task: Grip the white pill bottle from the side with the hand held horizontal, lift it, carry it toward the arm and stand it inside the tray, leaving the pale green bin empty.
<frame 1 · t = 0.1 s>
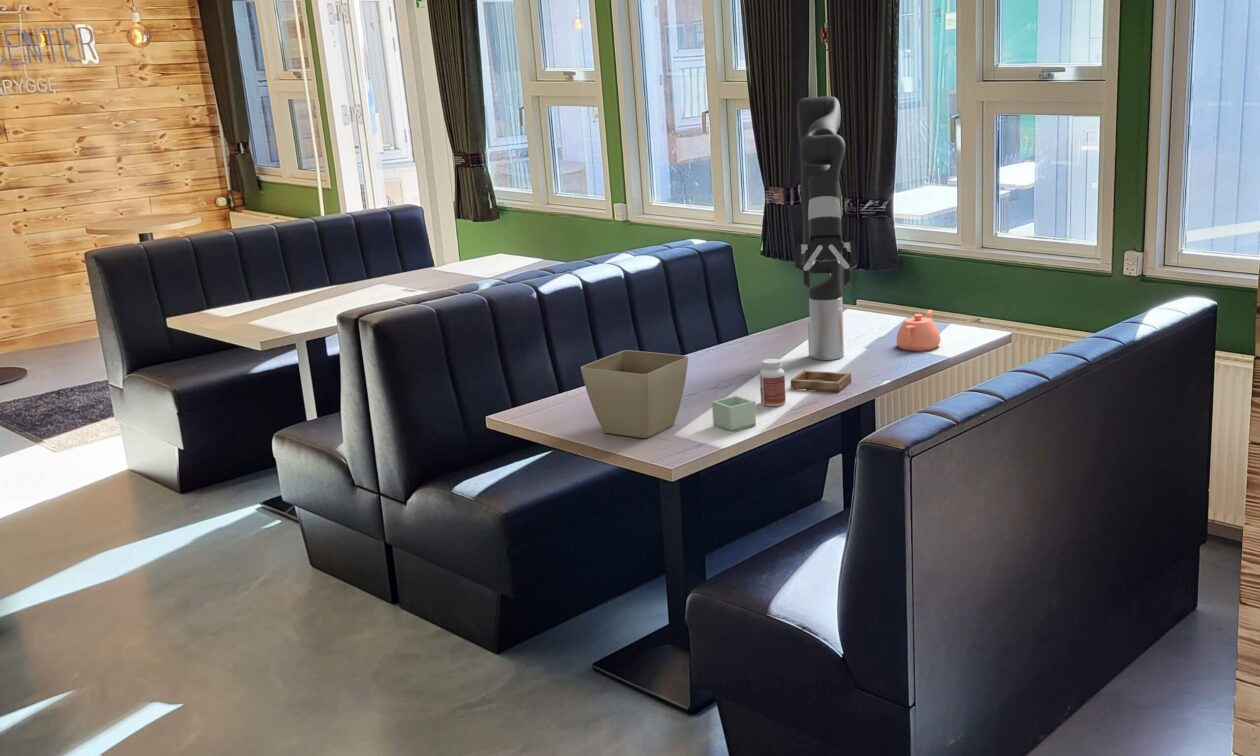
hand: (826, 286, 286), 31 cm above the table, tool tilted 20°, fingers open, 8 cm apart
pale green bin: (734, 425, 292), on the table
tray: (821, 385, 320), on the table
flower pot: (639, 429, 294), on the table
pill bottle: (773, 404, 307), on the table
teapot: (919, 346, 353), on the table
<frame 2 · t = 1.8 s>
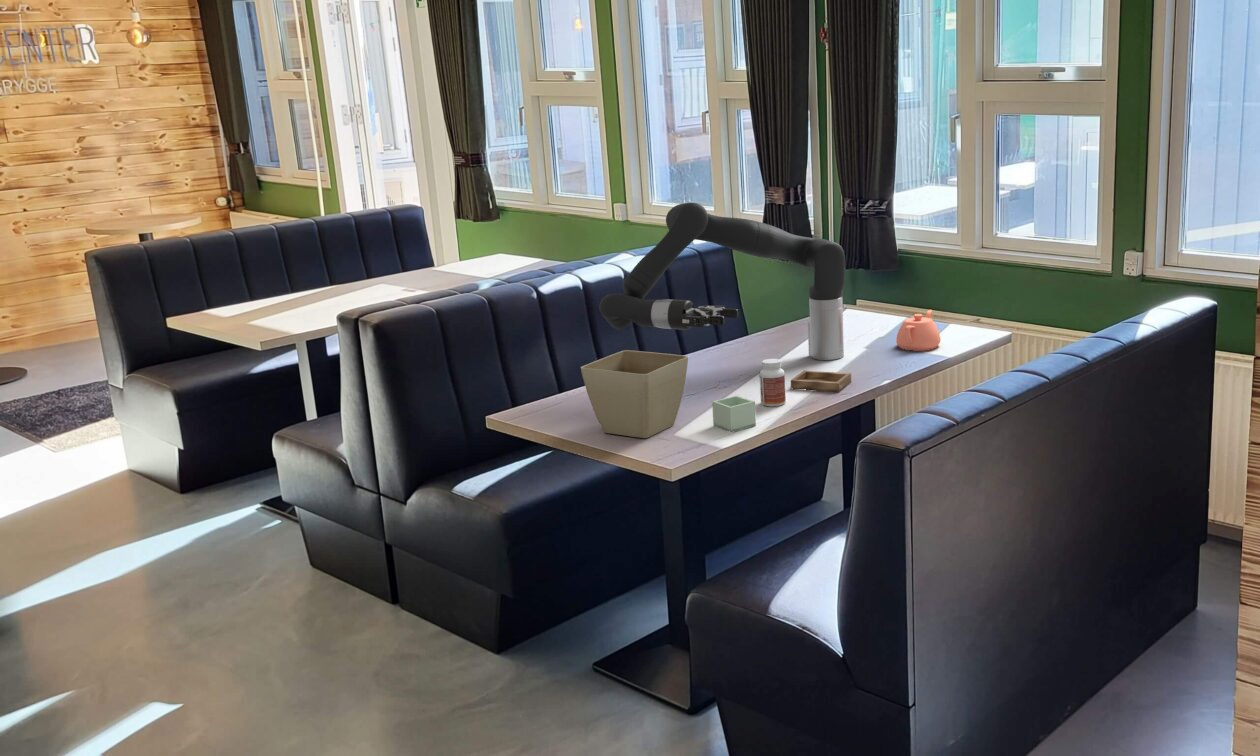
hand: (730, 317, 307), 22 cm above the table, tool horizontal, fingers open, 8 cm apart
nothing on the table moved.
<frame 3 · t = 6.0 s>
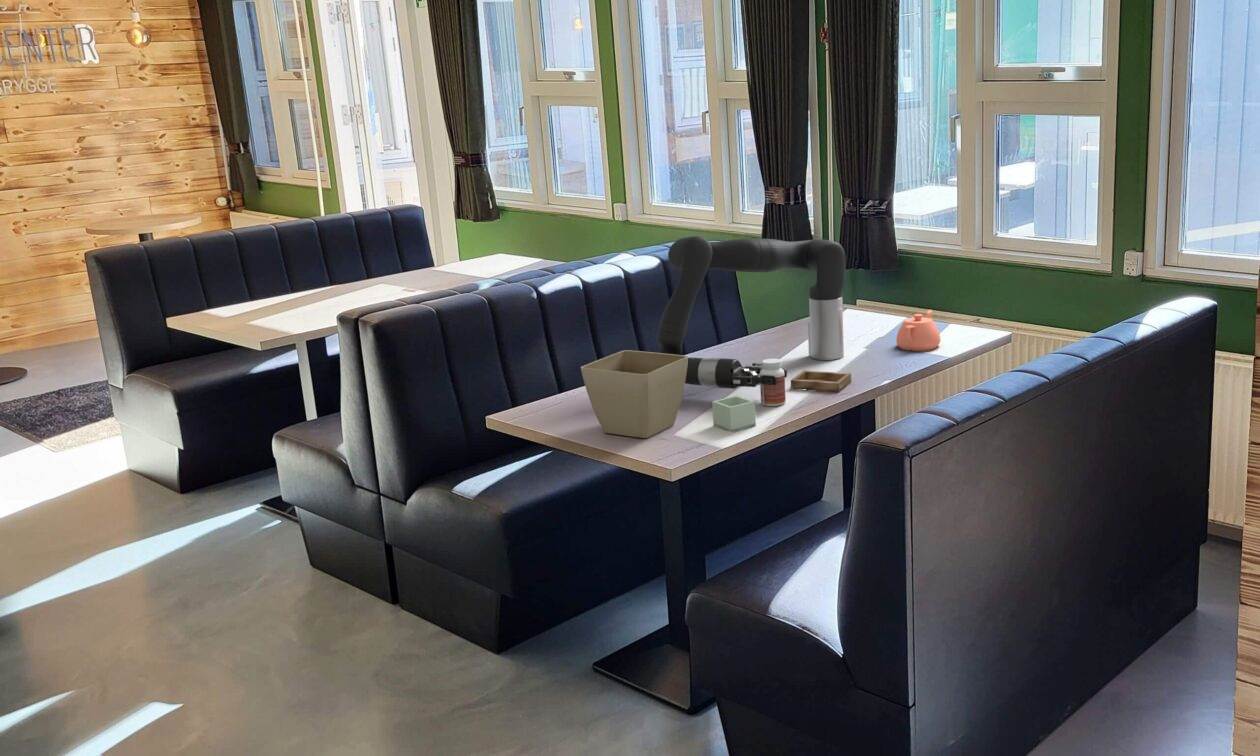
hand: (781, 377, 304), 7 cm above the table, tool horizontal, fingers closed on pill bottle, 6 cm apart
pill bottle: (773, 404, 307), on the table, touching gripper
everything else where it was.
when the fingers open (8 cm above the table, at t = 11.5 s): pill bottle stays where it is, resting on tray.
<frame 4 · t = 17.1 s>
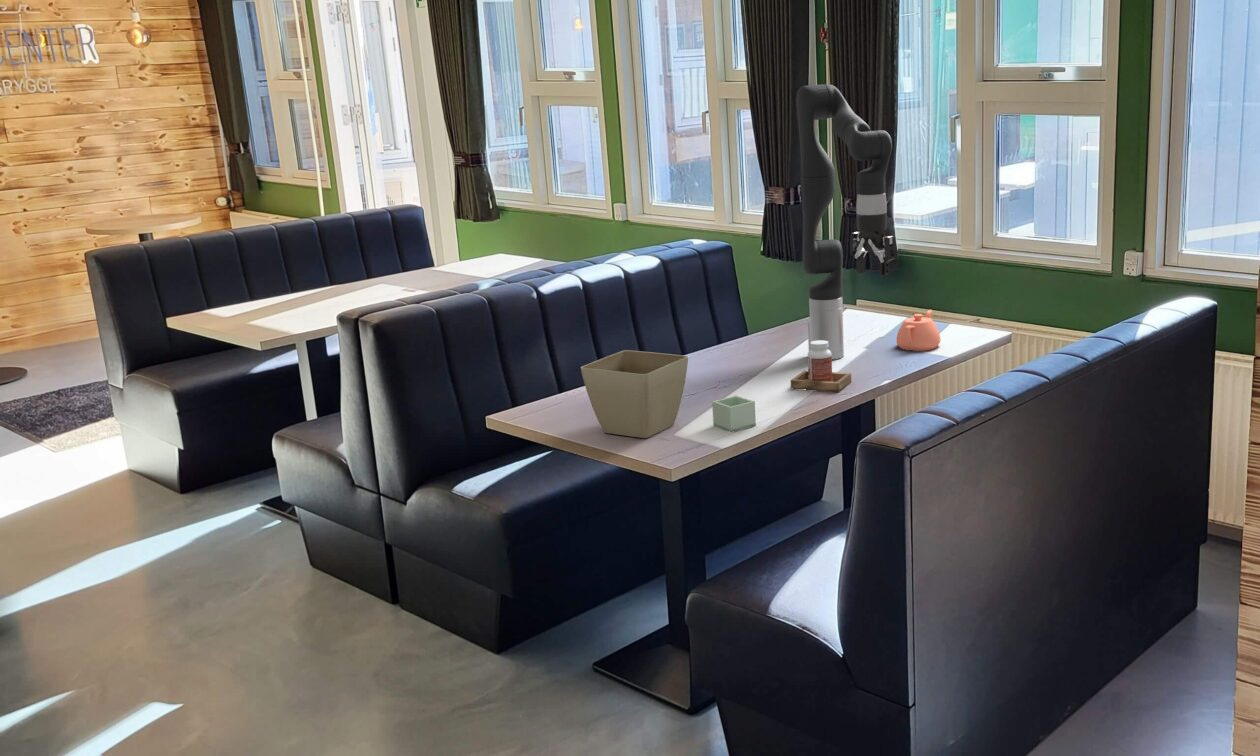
hand: (872, 274, 314), 28 cm above the table, tool pointing down, fingers open, 8 cm apart
pill bottle: (820, 384, 320), resting on tray
everything else where it was.
at the end: pill bottle 0.2 cm from the tray (horizontally); pill bottle tilted 0°; pill bottle touching tray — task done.
